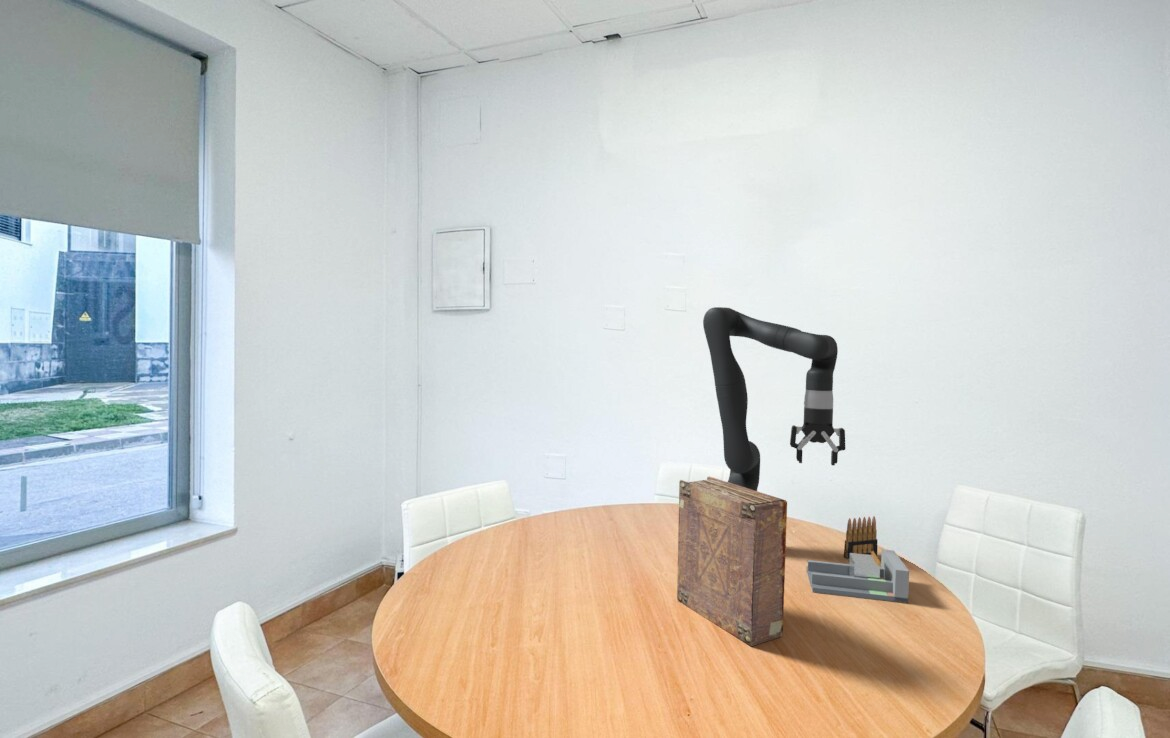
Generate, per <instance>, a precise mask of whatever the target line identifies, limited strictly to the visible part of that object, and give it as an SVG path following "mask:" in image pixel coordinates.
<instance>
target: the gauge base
mask: <svg viewBox="0 0 1170 738" xmlns="http://www.w3.org/2000/svg"><path fill="white" fill-rule="evenodd" d="M880 554H881V555H880V556H881V560H880V562H881V566H880V579H873V578H860V577H850V576H849V563H839V562H829V561H820V560H809V559H807V565H806V568H805V569H806V575H807V577H808V580H809V584H810V587H811V590H812V593H815V594H816V593H817V594H827V595H833V596H842V597H851V598H858V599H860V598H861V599H868V600H876V601H886V602H895V603H903V604H909V590H910V589H909V588H910V587H909V586H910V585H909V584H910V570H909V569H908V568H907V566H906V565H905V563H904V562H903V561H902V560H901V558H900V556H898V554H897V553H896V551H895V550H893V549H884V548H883V549H881V553H880Z"/></svg>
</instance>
